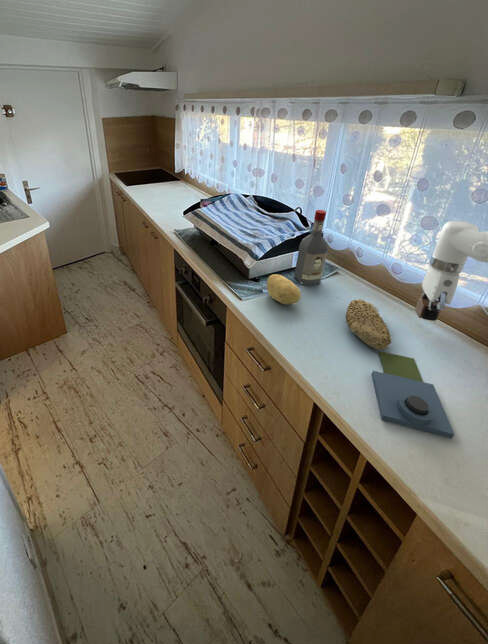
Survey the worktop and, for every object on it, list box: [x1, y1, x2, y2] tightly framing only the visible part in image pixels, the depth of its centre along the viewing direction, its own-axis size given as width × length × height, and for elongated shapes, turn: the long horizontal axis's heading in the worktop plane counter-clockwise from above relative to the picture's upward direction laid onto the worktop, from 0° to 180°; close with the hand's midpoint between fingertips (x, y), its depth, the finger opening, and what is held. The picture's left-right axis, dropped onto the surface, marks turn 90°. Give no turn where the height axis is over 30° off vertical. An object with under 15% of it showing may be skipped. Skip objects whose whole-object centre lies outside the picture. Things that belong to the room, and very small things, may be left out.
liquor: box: [293, 209, 329, 287], centre depth 121 cm, size 9×9×30 cm
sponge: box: [345, 298, 392, 350], centre depth 98 cm, size 13×8×20 cm
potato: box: [266, 273, 302, 306], centre depth 113 cm, size 10×14×10 cm
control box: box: [371, 370, 456, 439], centre depth 76 cm, size 14×14×4 cm
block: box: [414, 297, 442, 321], centre depth 95 cm, size 5×5×5 cm
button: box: [406, 396, 428, 415], centre depth 72 cm, size 4×4×2 cm
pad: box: [378, 350, 424, 382], centre depth 86 cm, size 9×9×1 cm
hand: (425, 313), depth 96 cm, fingers closed on block, 4 cm apart
